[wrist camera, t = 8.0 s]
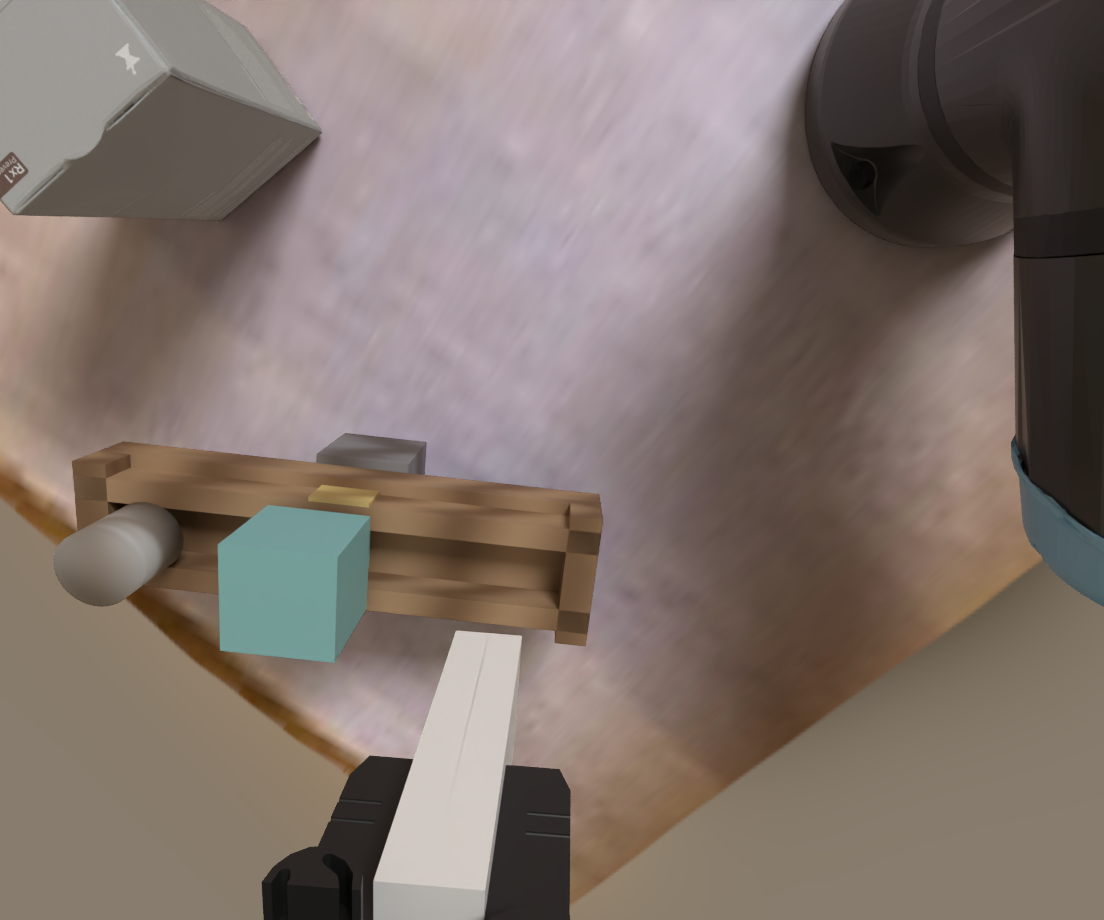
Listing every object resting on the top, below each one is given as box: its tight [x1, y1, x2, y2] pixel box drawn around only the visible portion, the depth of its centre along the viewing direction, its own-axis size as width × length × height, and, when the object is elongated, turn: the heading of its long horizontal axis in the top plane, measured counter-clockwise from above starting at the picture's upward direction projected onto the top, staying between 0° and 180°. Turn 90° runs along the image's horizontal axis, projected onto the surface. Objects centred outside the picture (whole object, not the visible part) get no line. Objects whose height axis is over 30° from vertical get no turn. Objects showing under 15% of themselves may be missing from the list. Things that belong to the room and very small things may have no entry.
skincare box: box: [0, 0, 322, 221], centre depth 30 cm, size 8×7×16 cm
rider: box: [218, 505, 371, 663], centre depth 33 cm, size 5×5×7 cm
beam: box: [54, 433, 603, 646], centre depth 37 cm, size 26×8×13 cm, turn 84°
